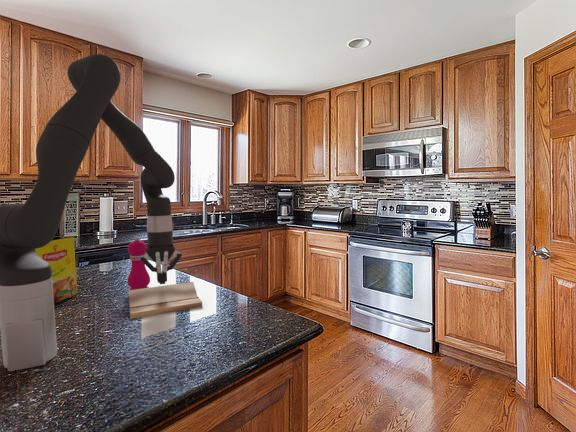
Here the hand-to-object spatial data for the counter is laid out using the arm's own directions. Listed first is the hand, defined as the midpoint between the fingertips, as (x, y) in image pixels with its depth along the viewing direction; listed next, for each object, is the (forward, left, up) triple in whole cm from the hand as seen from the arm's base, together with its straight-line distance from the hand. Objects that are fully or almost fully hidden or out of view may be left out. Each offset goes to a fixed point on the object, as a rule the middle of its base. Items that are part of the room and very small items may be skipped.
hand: (162, 283), depth 109 cm
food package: (+17, +30, -6) cm, 35 cm away
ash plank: (-2, 0, -4) cm, 4 cm away
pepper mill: (+13, +6, -6) cm, 16 cm away
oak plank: (-8, 0, -6) cm, 10 cm away
